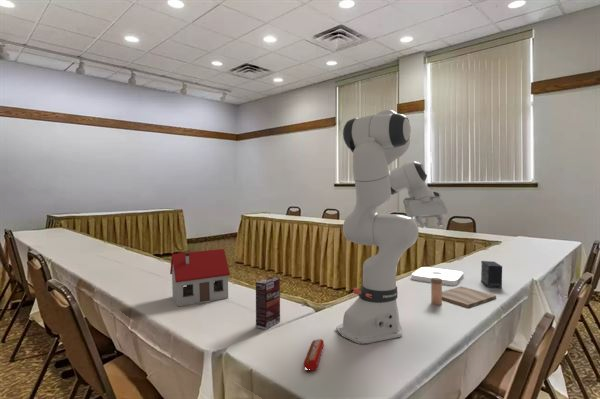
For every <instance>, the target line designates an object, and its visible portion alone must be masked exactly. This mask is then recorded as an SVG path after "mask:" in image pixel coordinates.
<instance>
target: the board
mask: <svg viewBox="0 0 600 399" xmlns="http://www.w3.org/2000/svg"><path fill="white" fill-rule="evenodd" d="M496 299H497V295H496V294H492V293H488V292H485V291H481V290H476V289H472V288H469V287H467V286H466V287H465V286H457V287H454V288H449V289H446V290H442V301H446V302H448V303H453V304H455V305H459V306H462V307H465V308H472V307H475V306H477V305H481V304H484V303H486V302H489V301H492V300H496Z"/></svg>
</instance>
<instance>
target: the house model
mask: <svg viewBox="0 0 600 399" xmlns="http://www.w3.org/2000/svg"><path fill="white" fill-rule="evenodd" d="M169 270H170V272H169V273H170V274H169V275H171V281H172V283H171V284H172V287H171V288H172V298H173V301H174V302H175V305H177V307H182V306H188V305H196V304H199V305H200V304H206V303H212V302H213V301H217V300H223V299H229V276H230V274H231V272H230V269H229V264H228V260H227V257H226V252H225V248H219V249H210V250H200V251H189V252H188V251H187V252H180V253H179V252H178V253H172V254H171V262H170V269H169Z"/></svg>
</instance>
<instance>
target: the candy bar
mask: <svg viewBox="0 0 600 399" xmlns="http://www.w3.org/2000/svg"><path fill="white" fill-rule="evenodd" d="M324 345H325V344H324V339H319V338H318V339H314V340H313V341H312V342H311V343H310V346H309V348H308V351H307V354H306V356H305V359H304V363H303V367H306V368H307V369H308V370H309V369H310V370H311V371H315V370H317V369H318V367H317V366H319V364H320V361H319V360H321V358H320V357H322V354H323V351H322V350H324V347H325V346H324ZM321 353H322V354H321ZM318 363H319V364H318ZM316 368H317V369H316Z"/></svg>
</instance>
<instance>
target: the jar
mask: <svg viewBox="0 0 600 399" xmlns="http://www.w3.org/2000/svg"><path fill="white" fill-rule="evenodd" d="M430 284H431V285H430V288H431V290H430V291H431V294H430V295H431V296H430V300H431V301H430V302H431V304H432V305H434V306H442V305H443V300H442V292H443V284H442V279H440V278H431V282H430Z"/></svg>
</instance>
